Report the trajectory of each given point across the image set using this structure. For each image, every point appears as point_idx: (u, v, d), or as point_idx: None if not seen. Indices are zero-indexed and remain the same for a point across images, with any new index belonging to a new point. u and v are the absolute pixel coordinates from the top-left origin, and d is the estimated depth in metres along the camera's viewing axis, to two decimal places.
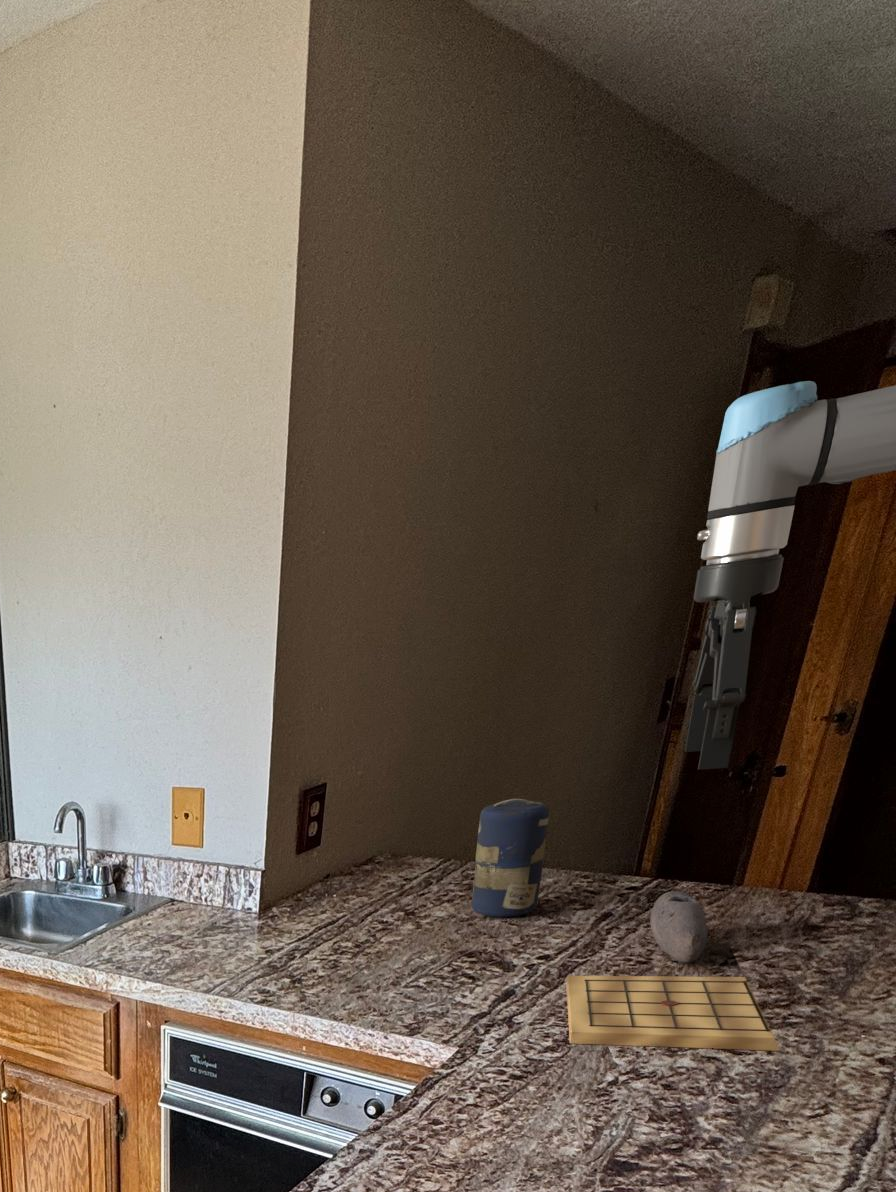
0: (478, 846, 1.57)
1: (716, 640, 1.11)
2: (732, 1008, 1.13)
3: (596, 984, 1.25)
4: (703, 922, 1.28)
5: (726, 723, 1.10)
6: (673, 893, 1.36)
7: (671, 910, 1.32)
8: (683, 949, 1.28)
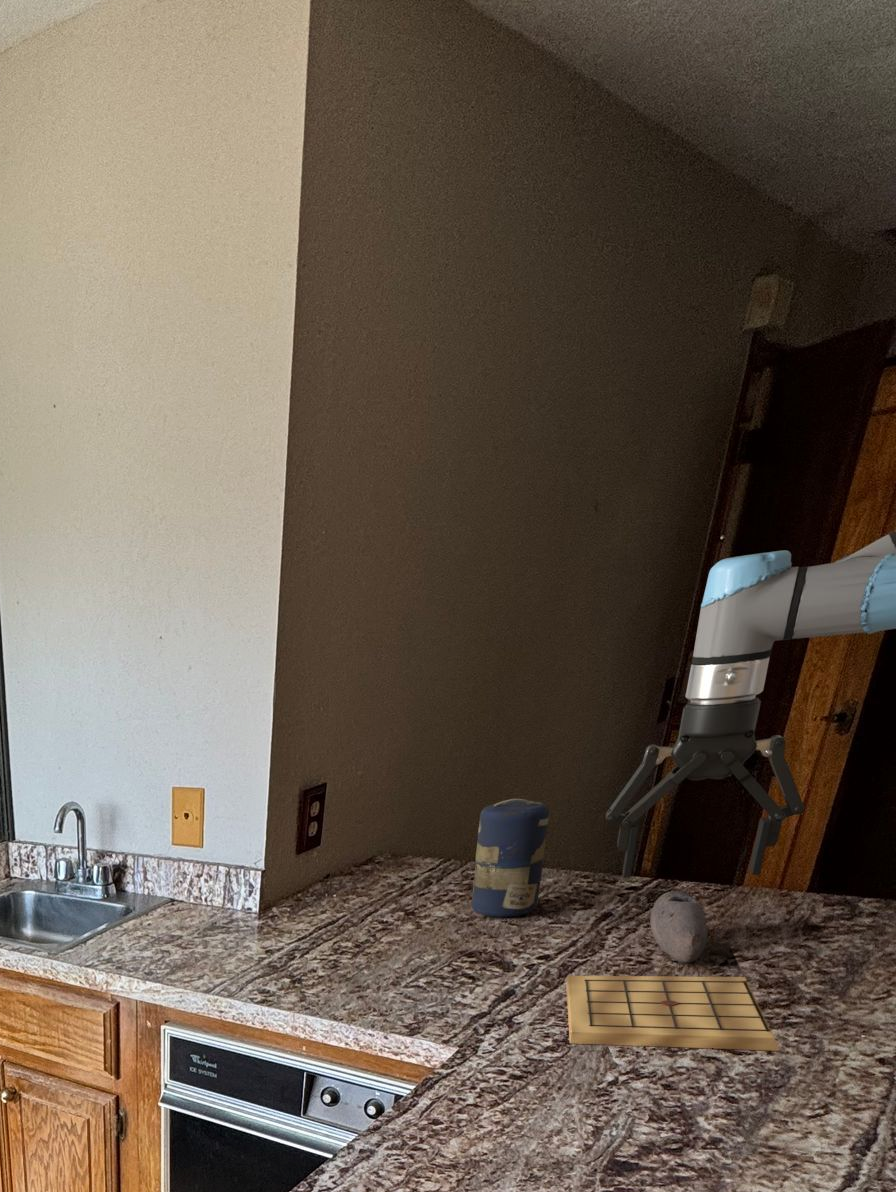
0: (478, 846, 1.57)
1: (744, 767, 1.21)
2: (732, 1008, 1.13)
3: (596, 984, 1.25)
4: (703, 922, 1.28)
5: None
6: (673, 893, 1.36)
7: (671, 910, 1.32)
8: (683, 949, 1.28)
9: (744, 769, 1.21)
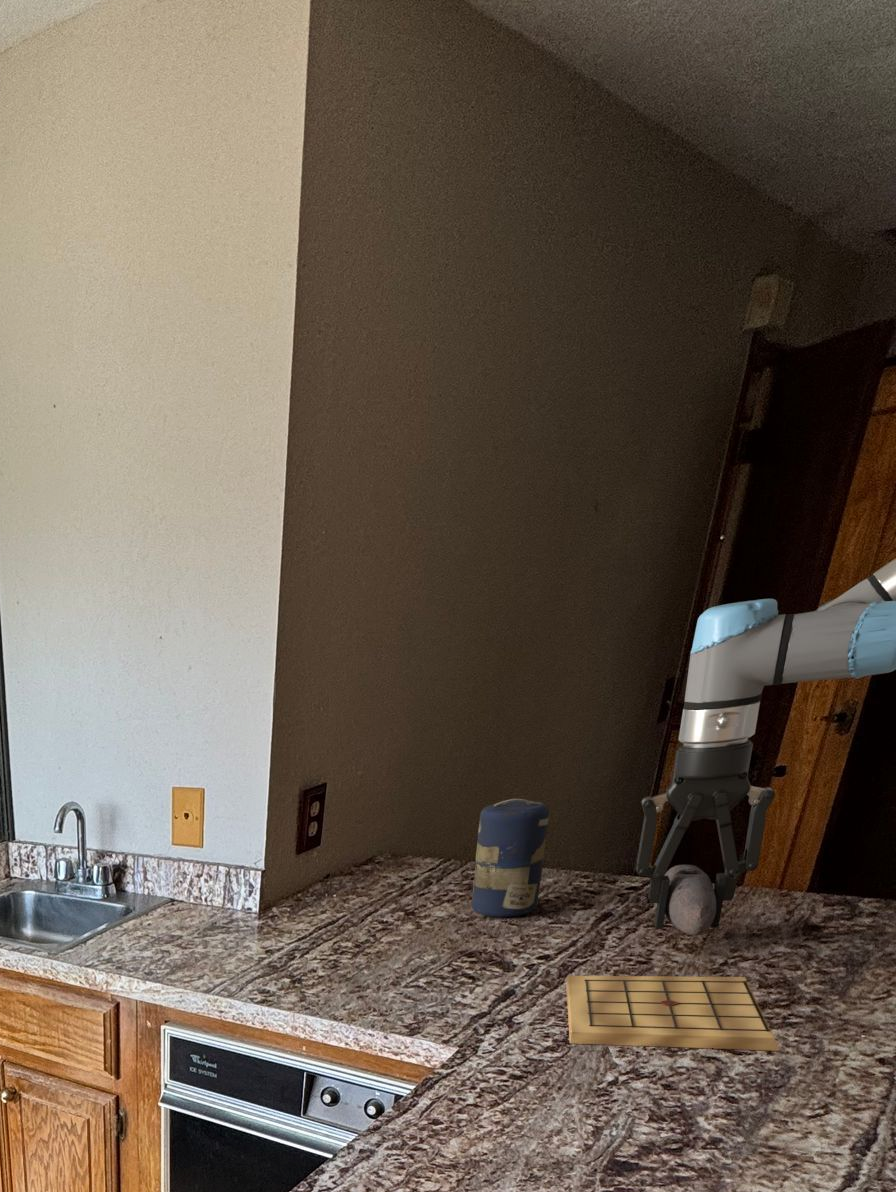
0: (478, 846, 1.57)
1: None
2: (732, 1008, 1.13)
3: (596, 984, 1.25)
4: (712, 894, 1.27)
5: None
6: (681, 866, 1.34)
7: (679, 883, 1.30)
8: (691, 922, 1.26)
9: (728, 816, 1.24)
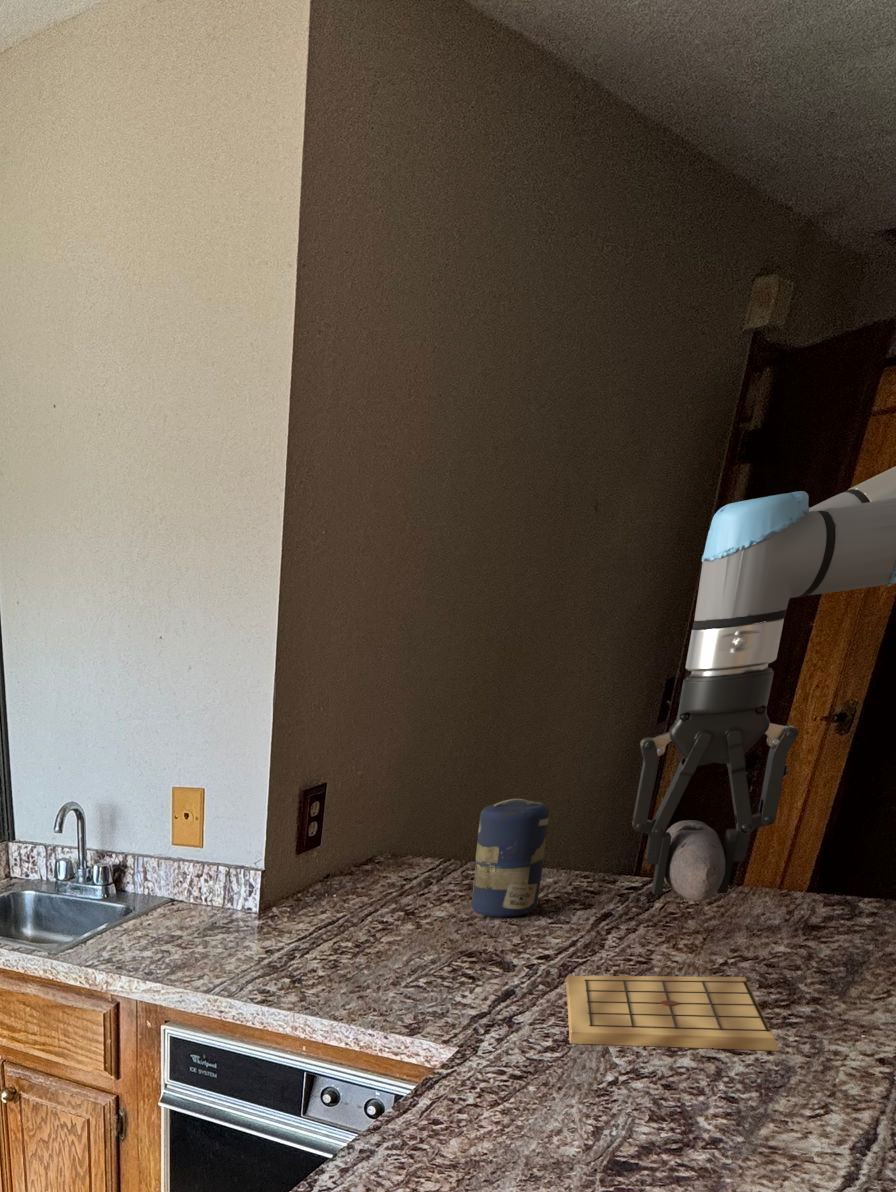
0: (478, 846, 1.57)
1: None
2: (732, 1008, 1.13)
3: (596, 984, 1.25)
4: (720, 852, 1.07)
5: None
6: (685, 822, 1.15)
7: (682, 840, 1.11)
8: (695, 884, 1.07)
9: (742, 759, 1.05)
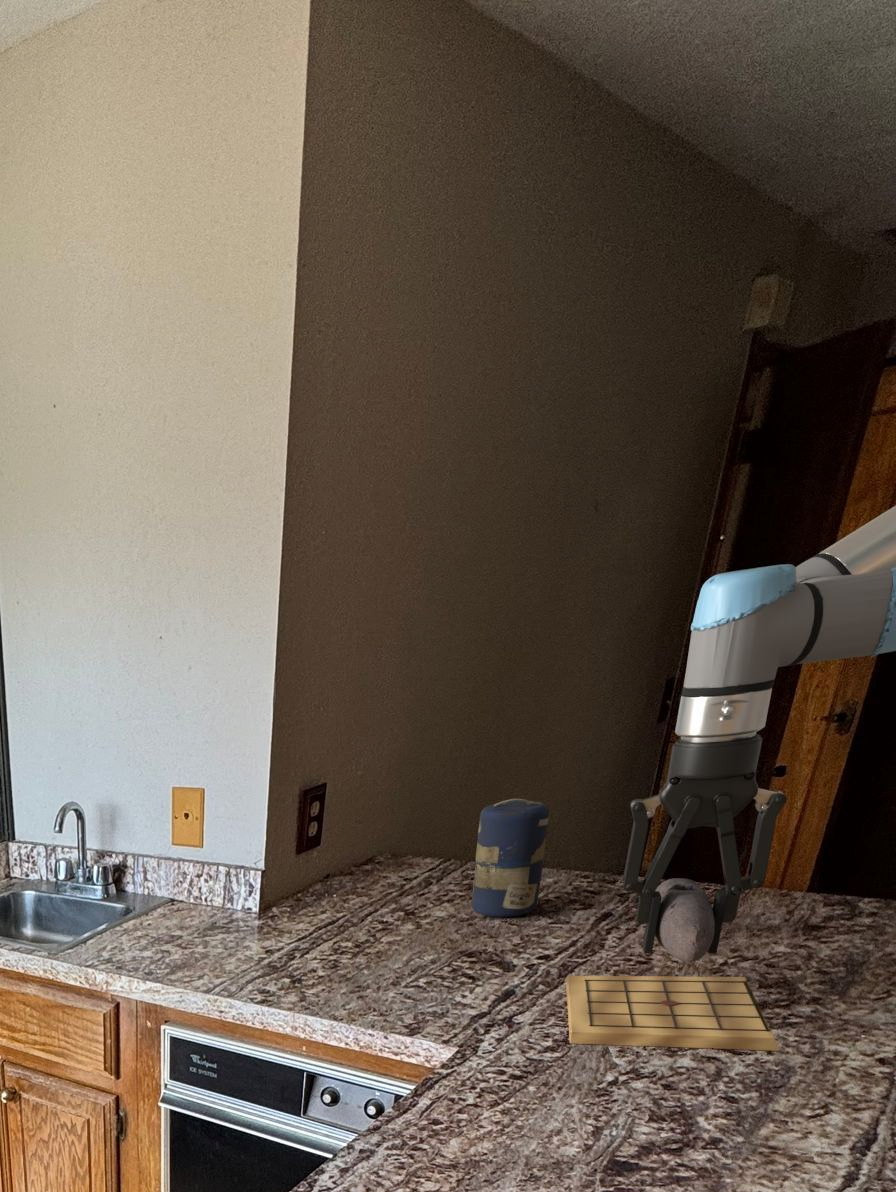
0: (478, 846, 1.57)
1: None
2: (732, 1008, 1.13)
3: (596, 984, 1.25)
4: (710, 914, 1.08)
5: None
6: (675, 880, 1.15)
7: (672, 901, 1.12)
8: (685, 946, 1.08)
9: (732, 823, 1.05)
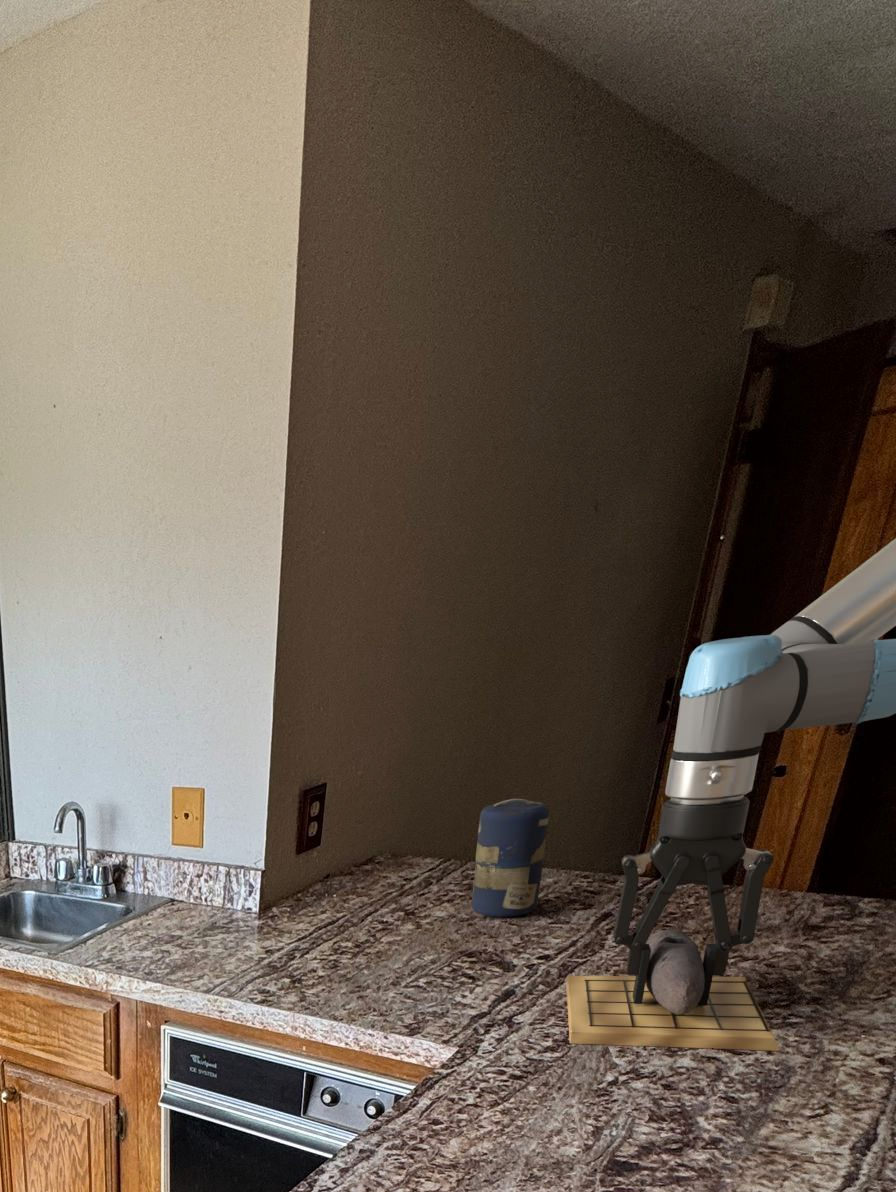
0: (478, 846, 1.57)
1: None
2: (732, 1008, 1.13)
3: (596, 984, 1.25)
4: (700, 968, 1.11)
5: None
6: (666, 932, 1.18)
7: (663, 954, 1.14)
8: (676, 1000, 1.11)
9: (720, 882, 1.08)
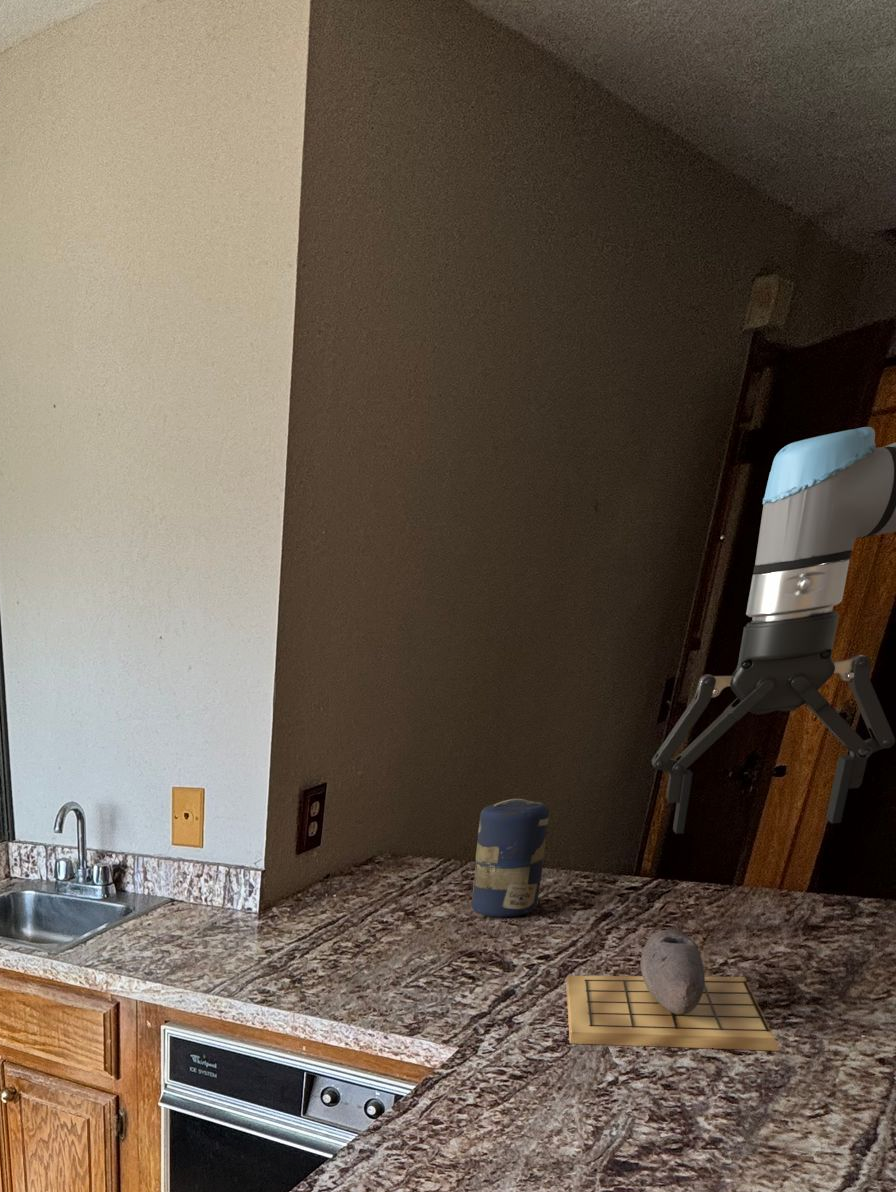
0: (478, 846, 1.57)
1: (820, 694, 1.02)
2: (732, 1008, 1.13)
3: (596, 984, 1.25)
4: (700, 968, 1.11)
5: None
6: (666, 932, 1.18)
7: (663, 954, 1.14)
8: (676, 1000, 1.11)
9: (820, 697, 1.02)
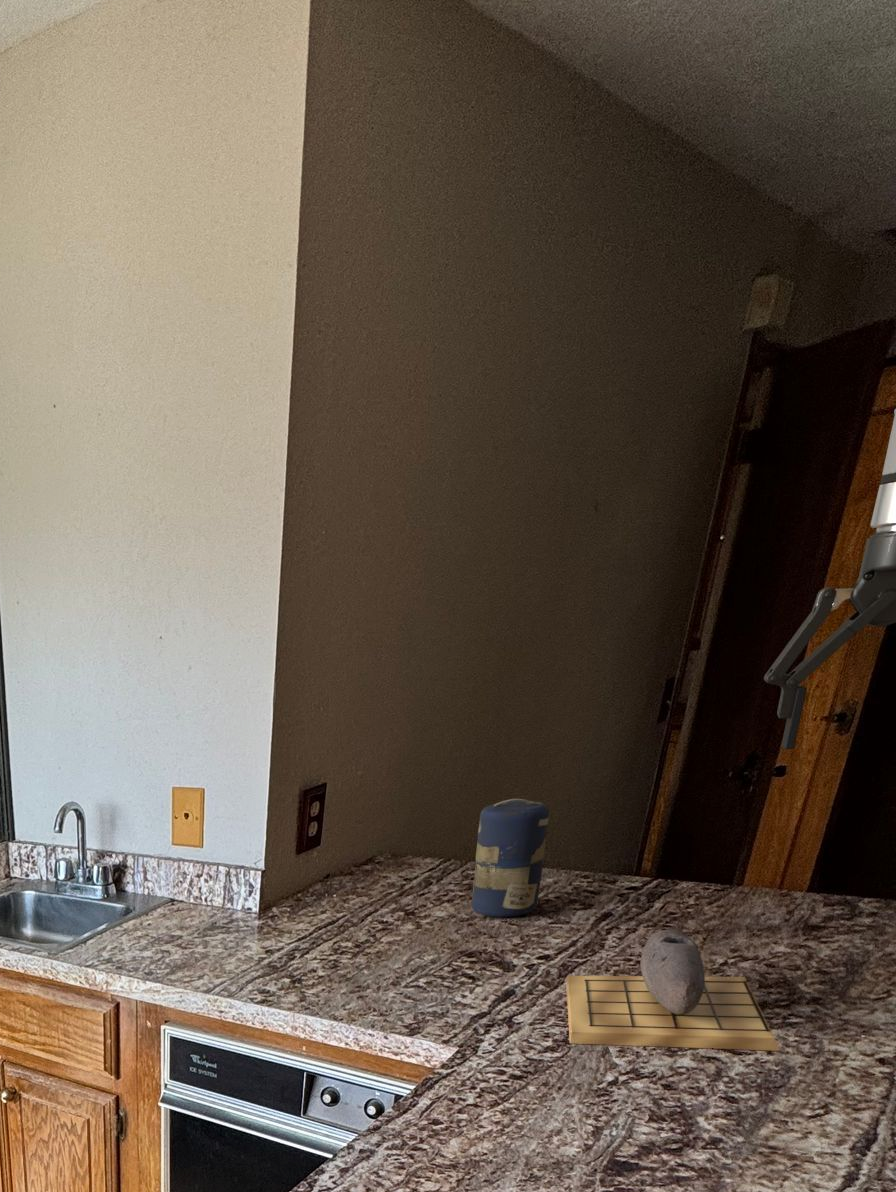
0: (478, 846, 1.57)
1: None
2: (732, 1008, 1.13)
3: (596, 984, 1.25)
4: (700, 968, 1.11)
5: None
6: (666, 932, 1.18)
7: (663, 954, 1.14)
8: (676, 1000, 1.11)
9: None
